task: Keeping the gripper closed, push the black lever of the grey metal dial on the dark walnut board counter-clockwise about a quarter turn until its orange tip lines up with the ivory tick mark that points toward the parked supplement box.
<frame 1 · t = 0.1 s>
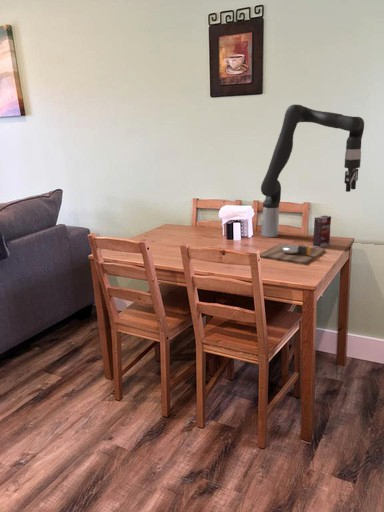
hand: (350, 190, 219), 29 cm above the table, fingers open, 8 cm apart
board: (292, 254, 215), on the table
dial: (296, 248, 212), point 4 cm above the table, hinge at 0.0°
supplement box: (321, 246, 228), on the table
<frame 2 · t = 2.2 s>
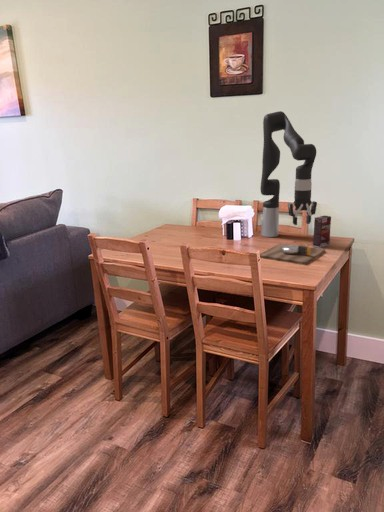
hand: (301, 224, 201), 18 cm above the table, fingers open, 6 cm apart
nothing on the table moved.
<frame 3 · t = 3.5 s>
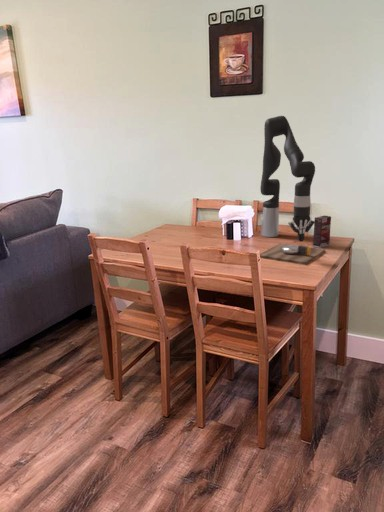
hand: (300, 240, 204), 9 cm above the table, fingers closed
nothing on the table moved.
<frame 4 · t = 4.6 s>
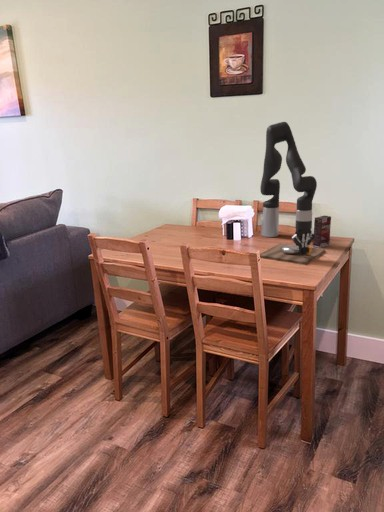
hand: (302, 254, 206), 3 cm above the table, fingers closed
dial: (296, 248, 212), point 4 cm above the table, hinge at 4.1°, touching gripper
everything else where it was.
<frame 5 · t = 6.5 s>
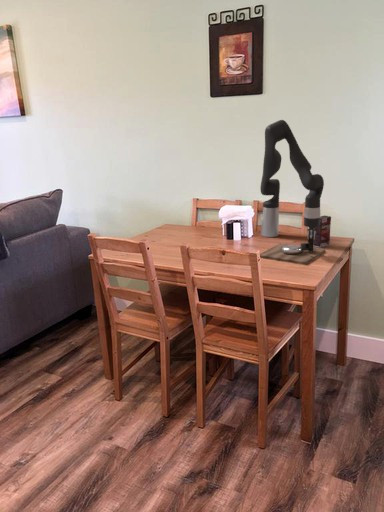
hand: (310, 250, 211), 3 cm above the table, fingers closed
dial: (297, 247, 214), point 4 cm above the table, hinge at 54.8°, touching gripper
everything else where it was.
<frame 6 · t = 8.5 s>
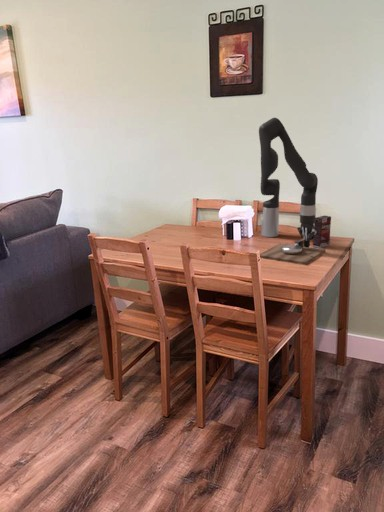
hand: (306, 246, 218), 3 cm above the table, fingers closed
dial: (295, 246, 216), point 4 cm above the table, hinge at 97.9°, touching gripper
everything else where it was.
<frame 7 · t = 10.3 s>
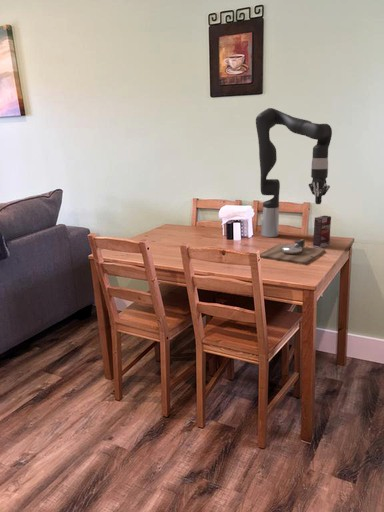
hand: (318, 203, 206), 26 cm above the table, fingers closed
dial: (295, 246, 216), point 4 cm above the table, hinge at 98.0°
everything else where it was.
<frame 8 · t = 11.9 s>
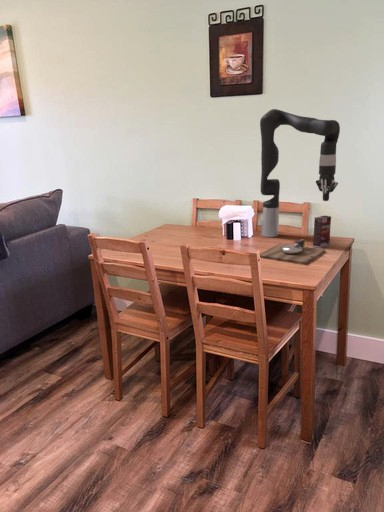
hand: (325, 200, 206), 27 cm above the table, fingers closed
nothing on the table moved.
at the end: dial at +98° (first picture: +0°) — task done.
